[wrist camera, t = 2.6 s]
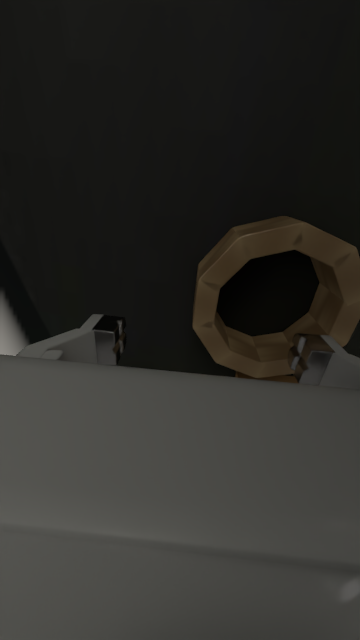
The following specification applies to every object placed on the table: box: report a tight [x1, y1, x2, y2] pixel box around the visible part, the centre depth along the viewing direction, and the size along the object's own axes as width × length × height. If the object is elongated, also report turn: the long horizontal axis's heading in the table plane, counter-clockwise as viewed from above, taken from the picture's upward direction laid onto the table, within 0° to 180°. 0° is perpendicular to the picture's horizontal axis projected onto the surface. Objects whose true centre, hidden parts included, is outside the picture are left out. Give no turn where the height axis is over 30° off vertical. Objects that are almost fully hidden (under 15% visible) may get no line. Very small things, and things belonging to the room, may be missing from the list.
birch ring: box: [192, 216, 360, 378], centre depth 14 cm, size 9×9×3 cm
